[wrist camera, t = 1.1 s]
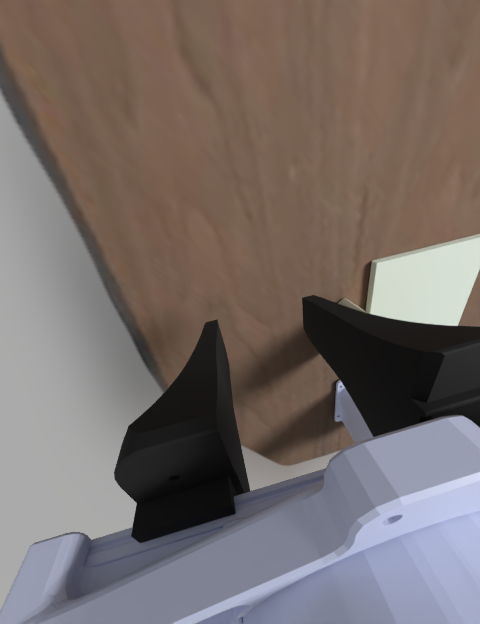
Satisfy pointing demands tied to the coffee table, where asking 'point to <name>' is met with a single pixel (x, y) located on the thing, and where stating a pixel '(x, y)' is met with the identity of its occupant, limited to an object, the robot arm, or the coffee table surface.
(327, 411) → the coffee table surface
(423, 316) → the mat
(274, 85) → the coffee table surface
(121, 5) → the coffee table surface
